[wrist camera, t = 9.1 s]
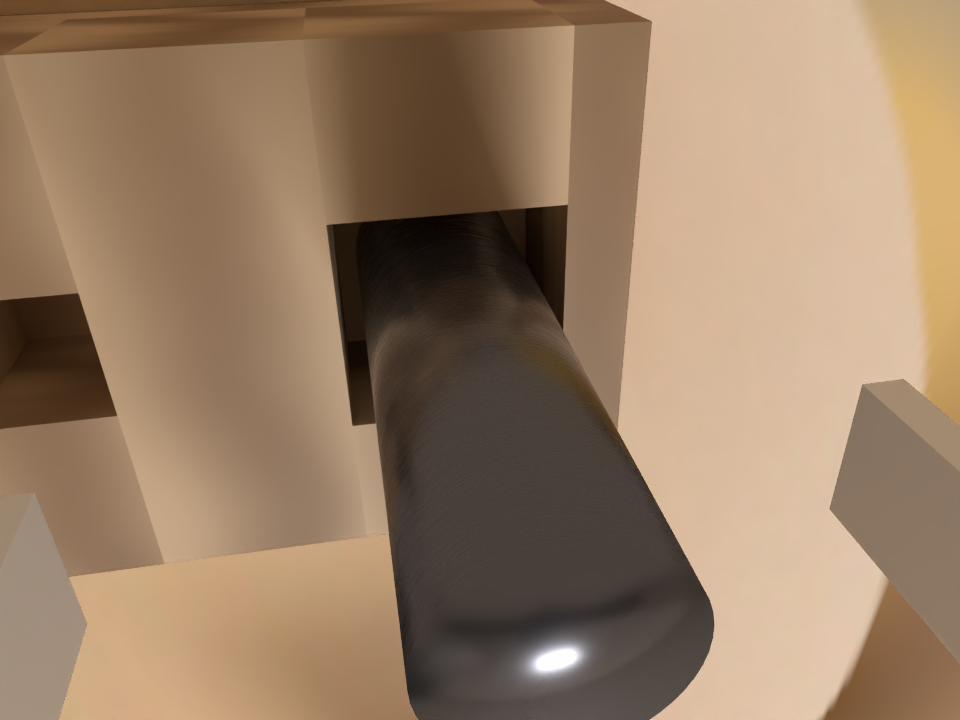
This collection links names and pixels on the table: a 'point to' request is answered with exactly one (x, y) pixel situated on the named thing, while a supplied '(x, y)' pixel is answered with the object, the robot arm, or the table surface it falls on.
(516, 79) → the oak block
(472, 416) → the steel pin
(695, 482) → the table surface
